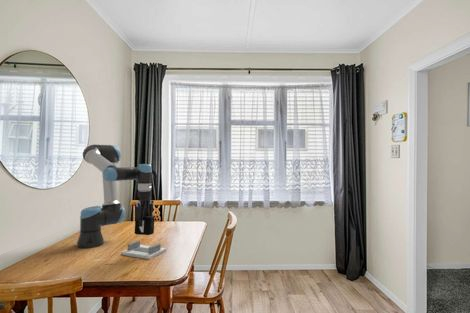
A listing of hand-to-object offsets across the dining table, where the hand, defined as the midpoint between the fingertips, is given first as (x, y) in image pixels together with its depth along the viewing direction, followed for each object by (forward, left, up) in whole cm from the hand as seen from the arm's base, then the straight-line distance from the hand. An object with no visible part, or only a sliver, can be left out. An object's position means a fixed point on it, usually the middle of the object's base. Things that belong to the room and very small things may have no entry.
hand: (144, 231), depth 159 cm
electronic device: (0, -1, -2) cm, 2 cm away
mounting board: (0, 0, -13) cm, 13 cm away
